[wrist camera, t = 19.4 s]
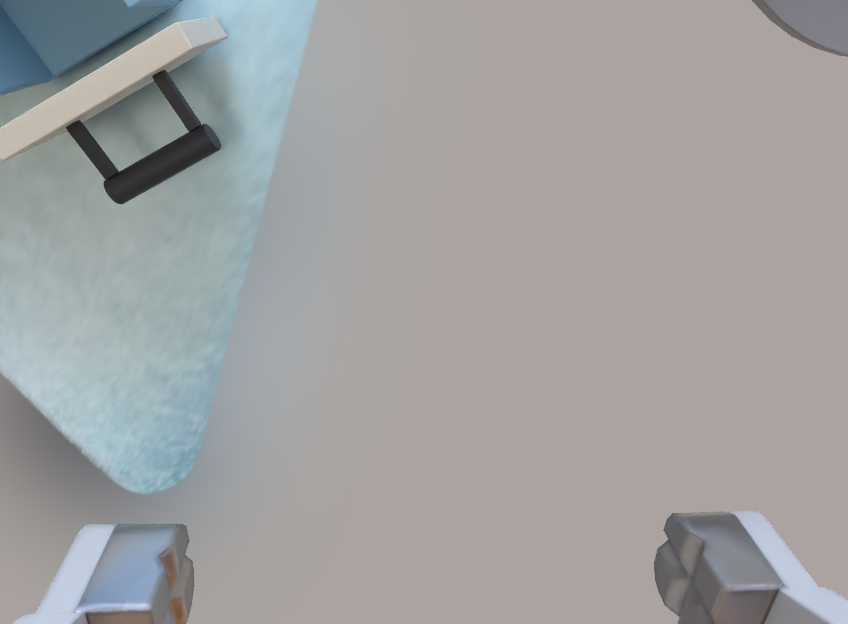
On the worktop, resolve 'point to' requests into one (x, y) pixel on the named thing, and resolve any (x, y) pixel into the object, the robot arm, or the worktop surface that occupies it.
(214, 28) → the cabinet drawer
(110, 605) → the robot arm
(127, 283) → the worktop surface
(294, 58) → the worktop surface
